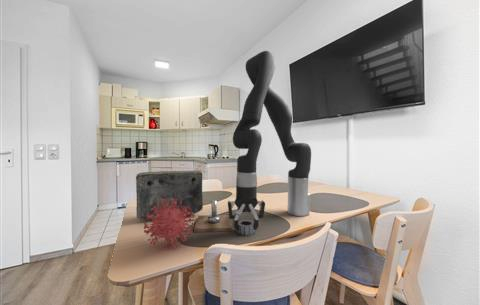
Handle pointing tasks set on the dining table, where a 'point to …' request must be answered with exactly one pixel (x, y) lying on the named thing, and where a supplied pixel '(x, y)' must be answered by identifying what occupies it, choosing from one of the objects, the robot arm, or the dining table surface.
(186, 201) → the concrete block
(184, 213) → the virus model
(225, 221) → the board
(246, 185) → the robot arm
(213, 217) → the post
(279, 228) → the dining table surface
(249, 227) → the ring
